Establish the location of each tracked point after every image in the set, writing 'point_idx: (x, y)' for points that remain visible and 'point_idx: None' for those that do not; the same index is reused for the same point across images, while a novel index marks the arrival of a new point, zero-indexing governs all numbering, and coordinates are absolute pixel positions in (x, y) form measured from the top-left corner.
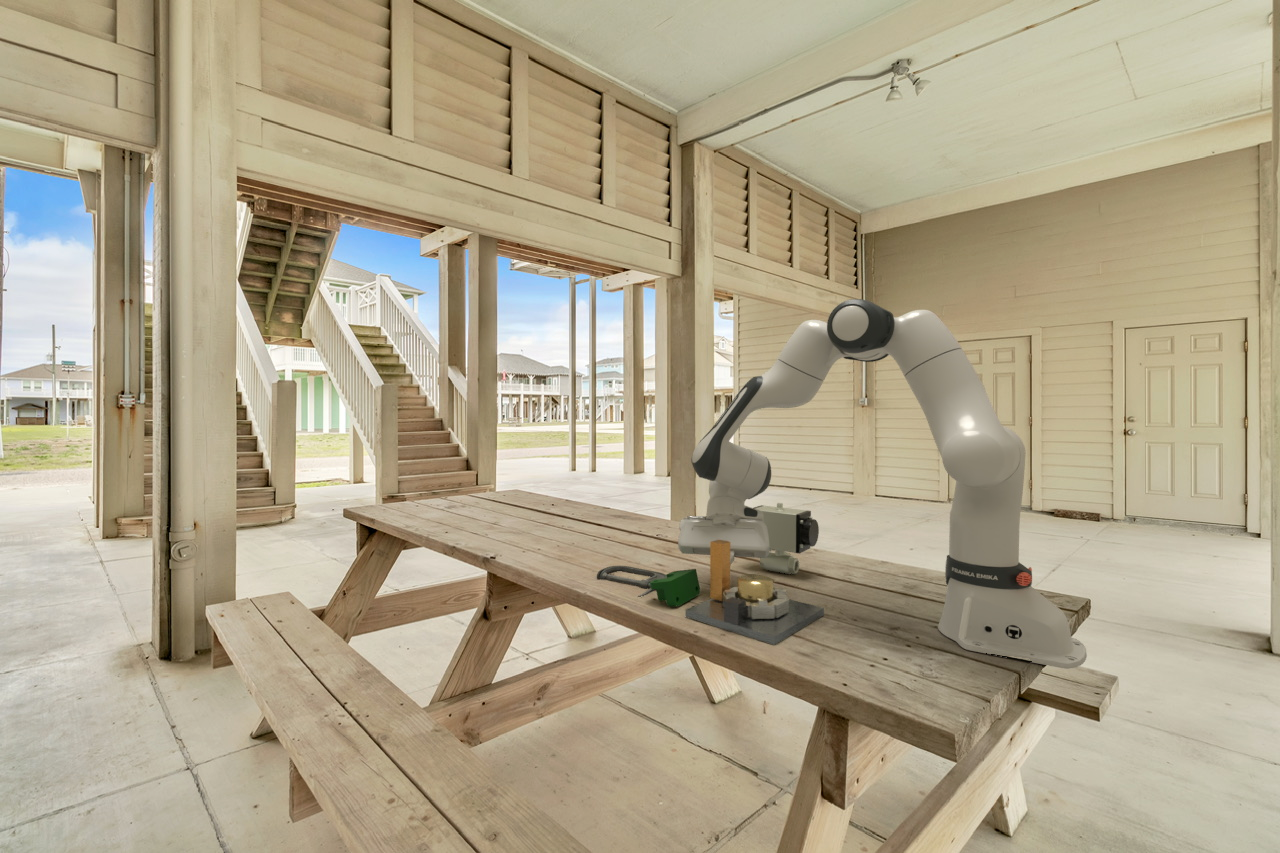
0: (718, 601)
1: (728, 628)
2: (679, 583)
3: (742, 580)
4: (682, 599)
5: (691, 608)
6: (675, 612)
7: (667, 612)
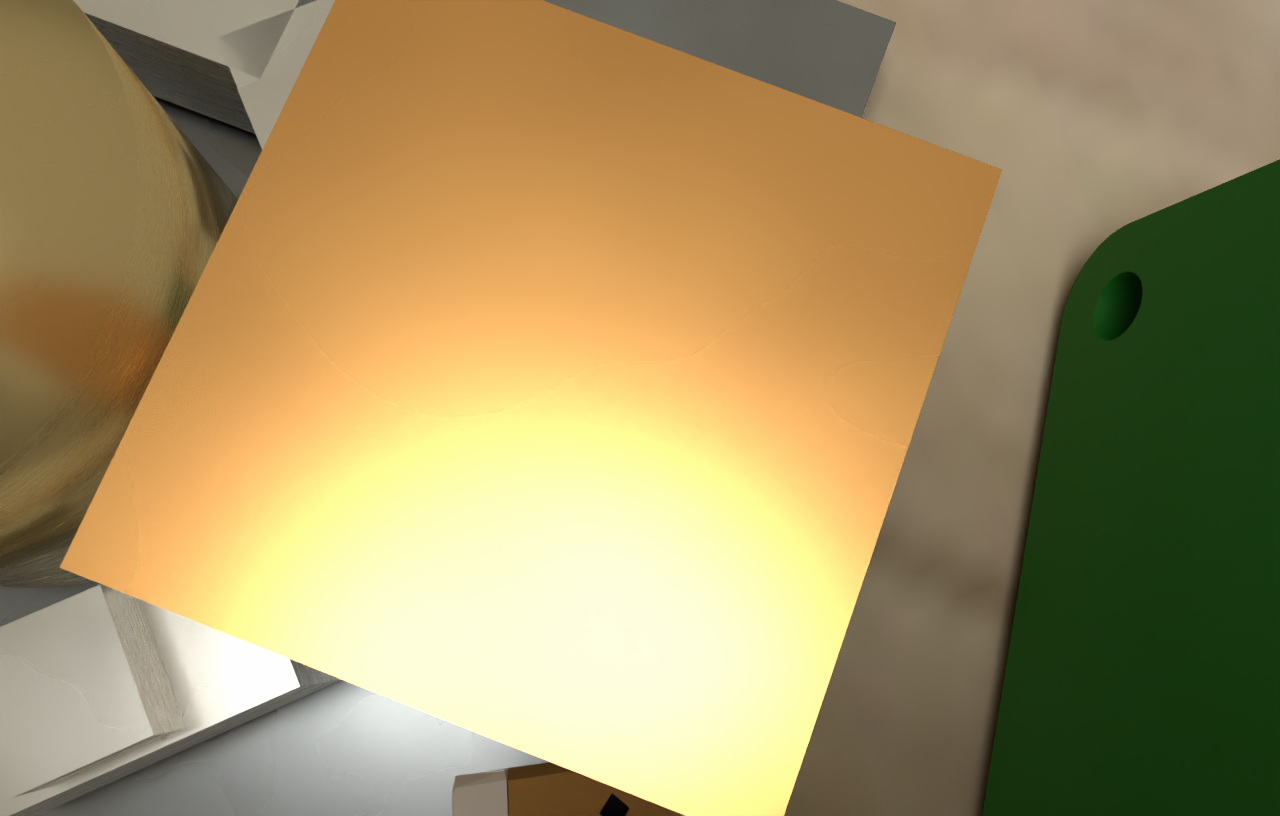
0: None
1: None
2: (1246, 393)
3: (30, 59)
4: (1079, 421)
5: (844, 91)
6: (1033, 173)
7: (1116, 142)
